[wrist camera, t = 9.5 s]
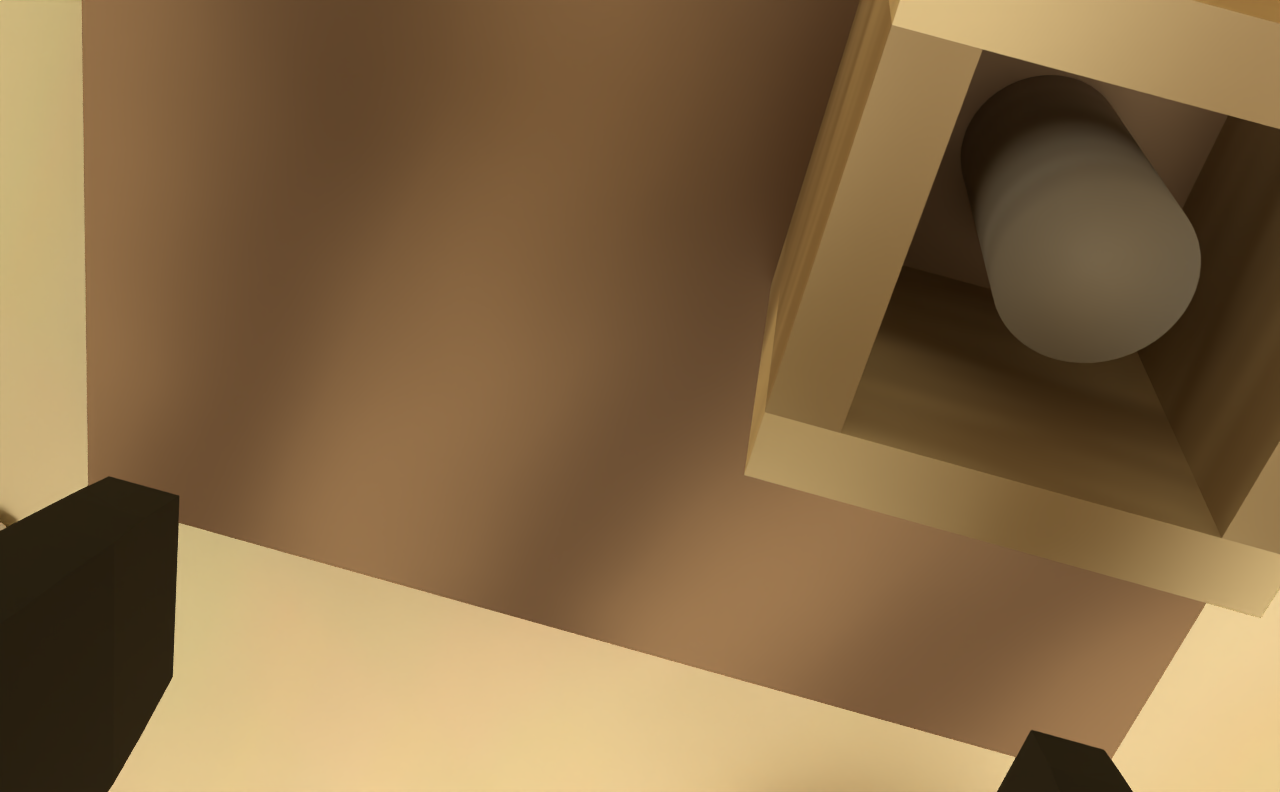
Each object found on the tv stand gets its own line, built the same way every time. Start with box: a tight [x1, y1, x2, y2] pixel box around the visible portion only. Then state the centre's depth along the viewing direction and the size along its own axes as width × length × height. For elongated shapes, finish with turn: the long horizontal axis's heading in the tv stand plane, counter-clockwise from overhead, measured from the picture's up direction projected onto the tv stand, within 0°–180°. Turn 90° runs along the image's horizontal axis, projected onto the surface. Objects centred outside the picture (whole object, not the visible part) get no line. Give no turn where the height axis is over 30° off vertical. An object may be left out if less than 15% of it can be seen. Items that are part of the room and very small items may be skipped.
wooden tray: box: [82, 0, 1228, 759], centre depth 16 cm, size 18×14×5 cm
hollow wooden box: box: [744, 0, 1280, 618], centre depth 13 cm, size 6×6×5 cm
